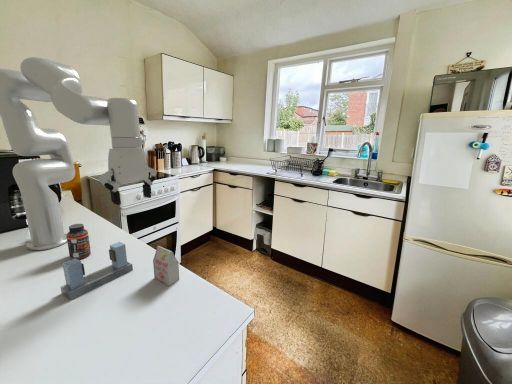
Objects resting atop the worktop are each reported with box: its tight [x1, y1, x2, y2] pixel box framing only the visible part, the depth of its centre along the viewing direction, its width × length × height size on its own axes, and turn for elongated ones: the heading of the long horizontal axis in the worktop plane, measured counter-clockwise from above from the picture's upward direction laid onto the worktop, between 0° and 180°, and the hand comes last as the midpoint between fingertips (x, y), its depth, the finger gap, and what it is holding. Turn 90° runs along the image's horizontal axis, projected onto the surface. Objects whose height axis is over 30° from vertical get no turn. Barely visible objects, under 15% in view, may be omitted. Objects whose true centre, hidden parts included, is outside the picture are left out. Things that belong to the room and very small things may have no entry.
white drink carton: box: [152, 245, 180, 287], centre depth 71 cm, size 4×7×10 cm, turn 58°
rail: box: [60, 258, 134, 301], centre depth 69 cm, size 5×17×9 cm, turn 149°
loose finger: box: [108, 241, 128, 269], centre depth 73 cm, size 3×4×7 cm
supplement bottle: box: [66, 223, 92, 260], centre depth 81 cm, size 6×6×11 cm
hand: (132, 200), depth 73 cm, fingers open, 9 cm apart
